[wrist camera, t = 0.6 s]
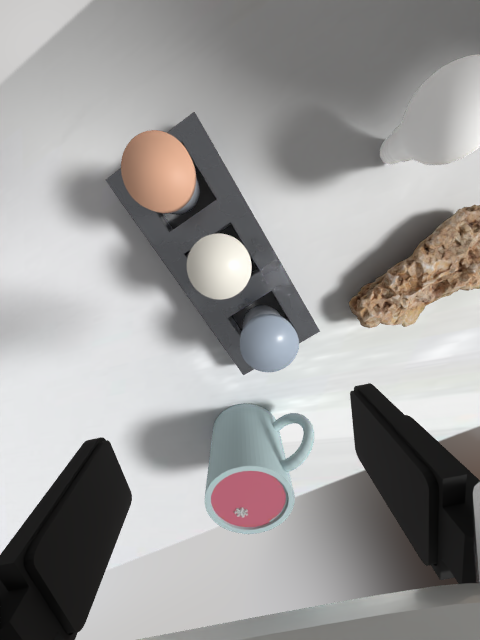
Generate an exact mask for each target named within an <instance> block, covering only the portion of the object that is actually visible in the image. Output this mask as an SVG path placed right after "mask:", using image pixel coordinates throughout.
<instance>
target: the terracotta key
mask: <svg viewBox="0 0 480 640" xmlns="http://www.w3.org/2000/svg"><path fill="white" fill-rule="evenodd" d="M121 173H122V178H123V182H124V185H125V187H126V189H127V191H128V192H129V194H130V195H131V196H132V198H133V199H134V200H135V201H136V202H138V203H139V204H140V205H142V206H143V207H145V208H147V209H149V210H152V211H155V212H158V213H171V214H176V215H180V214H185V213H187V212H189V211H191V210H192V209H193V208H194V207H195V205H196V204H197V202H198V199H199V194H200V188H199V183H198V180H197V178H196V171H195V167H194V164H193V161H192V159H191V157H190V155H189V153H188V151H187V150H186V148H185V147H184V146H183V144H182V143H181V142H180V141H179V140H178V139H176V138H175V137H174V136H172V135H170V134H168V133H166V132H163V131H156V130H152V131H146V132H143V133H140V134H138V135H137V136H135V137H134V138H133V139H132V140H131V141H130V142H129V143H128V145H127V146H126V148H125V150H124V153H123V156H122V161H121Z"/></svg>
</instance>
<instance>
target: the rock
mask: <svg viewBox="0 0 480 640" xmlns="http://www.w3.org/2000/svg"><path fill="white" fill-rule="evenodd" d="M474 288H476V289H479V288H480V205H479V206H476V205H474V206H472V207H464V208H462V209H459V210H458V211H457V212H456V213H455V214H454V215H453V216H452V217H450V218H448V219H447V220H446V221H444V222H443V223H442V224H441V225H439V226H438V227H437V228H436V230H435V231H434V232H433V233H432V234H431V235H429V236H428V237H427V238H425V239H424V240H423V241H421V242H420V243H419V245H418V246H417V248H416V249H415V250H414V252H413V255H411V256H410V257H409V258H407V259H406V260H404V261H401V262H399V263H397V264H396V265H394V266H393V267H392V268H390V269H389V270H388V271H387V273H385V274H384V275H382V276H380V277H378V278H376V280H375V282H373V283H368V284H366V285H364V286H363V287H362V288H361V291H360V292H359V293H358V295H356V296H354V297H352V299H351V300H350V302H349V307H350V308H351V311H352V313H353V314H355V315H356V316H357V317H358V318H357V319H359V321H360V324H361V325H362V326H364V327H368V328H372V327H376V326H378V325H379V324H380V323H382V324H385V325H398V324H402V326H403V327H406V326H409V325H411V324H414V323H415V322H416V320H417V319H418V316H419V314H420V313H421V312H422V311H423V310H424V308H425V306H426V305H428V304H430V303H432V302H434V301H436V300H438V299H440V298H442V297H445V296H449V295H451V294H452V293H453V292H456V291H458V290H459V289H462V290H467V291H469V290H472V289H474Z"/></svg>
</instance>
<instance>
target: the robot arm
mask: <svg viewBox="0 0 480 640" xmlns="http://www.w3.org/2000/svg"><path fill="white" fill-rule="evenodd" d="M350 397H351V408H352V419H353V430H354V440H355V450H356V453H357V456H358V458H359V460H360V462H361V463H362V465H363V466H364V468H365V470H366V471H367V473H368V474H369V476H370V478H371V479H372V481H373V483H374V484H375V486H376V488H377V489H378V491H379V492H380V494H381V496H382V497H383V499H384V500H385V502H386V504H387V505H388V507H389V509H390V510H391V512H392V514H393V515H394V517H395V518H396V520H397V522H398V523H399V525H400V527H401V528H402V530H403V531H404V533H405V535H406V536H407V538H408V539H409V541H410V543H411V544H412V546H413V547H414V549H415V551H416V552H417V554H418V556H419V557H420V559H421V560H422V561H423V563H424V564H425V565H426V566H428V565H431V566H432V568H433V569H434V571H435V572H436V574H437V575H438V577H439V579H440V580H443V579H449V578H454V577H455V579H456V580H457V582H458V583H459V584H457V585H456V584H455V585H445V586H434V587H428V588H422V589H415V590H408V591H402V592H396V593H389V594H383V595H377V596H370V597H365V598H359V599H354V600H348V601H343V602H337V603H331V604H326V605H320V606H315V607H309V608H304V609H299V610H293V611H288V612H282V613H277V614H271V615H265V616H260V617H255V618H249V619H244V620H239V621H234V622H228V623H223V624H217V625H212V626H207V627H201V628H196V629H191V630H186V631H180V632H175V633H170V634H164V635H160V636H154V637H149V638H144V639H138V640H480V481H479V479H478V478H476V477H475V476H474V475H473V474H472V473H471V472H470V471H469V470H468V469H467V468H466V467H465V466H464V465H462V464H461V463H460V462H459V461H458V460H457V459H456V458H455V457H454V456H453V455H452V454H451V453H449V452H448V451H447V450H446V449H445V448H444V447H443V446H442V445H441V444H440V443H439V442H438V441H437V440H436V439H434V438H433V437H432V436H431V435H430V434H429V433H428V432H427V431H426V430H425V429H424V428H423V427H421V426H420V425H419V424H418V423H417V422H416V421H415V420H414V419H413V418H411V417H410V416H407V415H404V414H403V413H402V412H401V411H400V410H399V409H398V408H397V407H396V406H394V405H393V404H392V403H391V402H390V401H389V400H388V399H387V398H386V397H385V396H384V395H383V394H382V393H381V392H380V391H379V390H378V389H377V388H376V387H375V386H373V385H372V384H370V383H369V384H364V385H359V386H355V387H354V391H351V392H350ZM131 501H132V494H131V491H130V489H129V486H128V484H127V482H126V479H125V477H124V474H123V472H122V470H121V467H120V465H119V463H118V460H117V458H116V455H115V453H114V451H113V448H112V446H111V443H110V442H109V441H106V440H105V439H104V438H97V439H92V440H87V441H85V442H84V443H83V445H82V446H81V447H80V449H79V450H78V451H77V453H76V454H75V455H74V457H73V458H72V459H71V461H70V462H69V463H68V465H67V466H66V467H65V469H64V470H63V472H62V473H61V474H60V476H59V477H58V478H57V480H56V481H55V482H54V484H53V485H52V486H51V488H50V489H49V490H48V492H47V493H46V494H45V496H44V497H43V498H42V500H41V501H40V502H39V504H38V505H37V506H36V508H35V509H34V510H33V512H32V513H31V514H30V516H29V517H28V518H27V520H26V521H25V522H24V524H23V525H22V526H21V528H20V529H19V531H18V532H17V533H16V535H15V536H14V537H13V539H12V540H11V541H10V543H9V544H8V545H7V547H6V548H5V549H4V551H3V552H2V553H1V555H0V640H75V638H76V635H77V633H78V632H79V631H80V630H81V629H82V628H83V626H84V624H85V622H86V619H87V617H88V614H89V612H90V609H91V606H92V604H93V601H94V599H95V596H96V593H97V591H98V588H99V586H100V583H101V580H102V578H103V575H104V573H105V570H106V567H107V565H108V562H109V560H110V557H111V554H112V552H113V549H114V547H115V544H116V541H117V539H118V536H119V534H120V531H121V528H122V526H123V523H124V521H125V518H126V515H127V513H128V510H129V508H130V505H131Z"/></svg>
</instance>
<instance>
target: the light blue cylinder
mask: <svg viewBox="0 0 480 640" xmlns="http://www.w3.org/2000/svg"><path fill="white" fill-rule="evenodd" d="M298 349H299V339H298V335H297V333H296V331H295V329H294V328H293V326H292V325H291V324H290V322H289V321H288V320H286V319H285V318H283V317H282V316H280V314H279V313H278V311H277V310H276V309H274V308H273V307H271V306H267V305H259V306H255V307H253V308H251V309H250V310H249V311H248V312H247V313H246V315H245V316H244V319H243V330H242V332H241V335H240V350H241V354H242V356H243V358H244V360H245V361H246V363H247V364H248V365H249V366H251V367H252V368H254V369H256V370H258V371H262V372H274V371H278V370H281V369H283V368H285V367H286V366H288V365H289V364H290V363H291V362H292V361H293V360H294V358H295V357H296V355H297V352H298Z"/></svg>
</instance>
